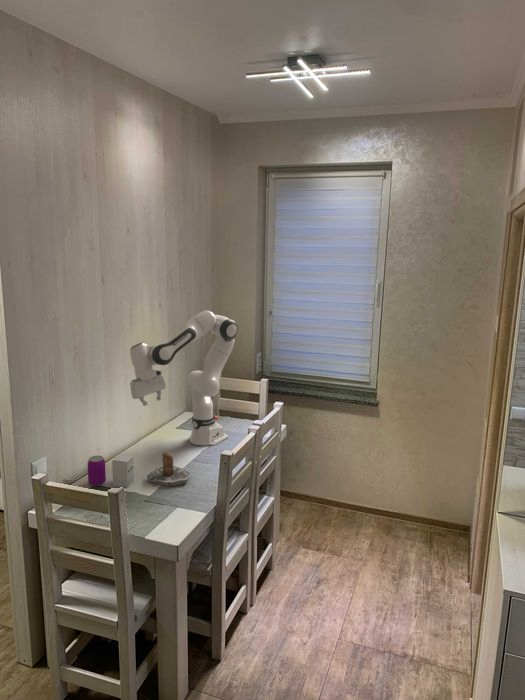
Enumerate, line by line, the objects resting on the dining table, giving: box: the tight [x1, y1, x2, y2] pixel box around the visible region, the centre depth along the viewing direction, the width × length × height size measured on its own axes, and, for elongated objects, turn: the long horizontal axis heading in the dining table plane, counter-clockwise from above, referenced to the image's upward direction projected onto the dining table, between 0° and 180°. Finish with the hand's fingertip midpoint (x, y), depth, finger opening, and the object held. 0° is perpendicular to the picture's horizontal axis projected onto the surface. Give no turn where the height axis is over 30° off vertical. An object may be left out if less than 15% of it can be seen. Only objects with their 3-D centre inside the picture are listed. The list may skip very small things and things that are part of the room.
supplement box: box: [111, 453, 135, 489], centre depth 232 cm, size 7×7×13 cm
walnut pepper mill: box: [161, 451, 174, 477], centre depth 237 cm, size 5×5×10 cm
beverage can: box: [87, 455, 107, 487], centre depth 232 cm, size 8×8×12 cm
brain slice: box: [146, 465, 190, 487], centre depth 239 cm, size 20×17×3 cm
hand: (152, 402), depth 253 cm, fingers open, 8 cm apart
